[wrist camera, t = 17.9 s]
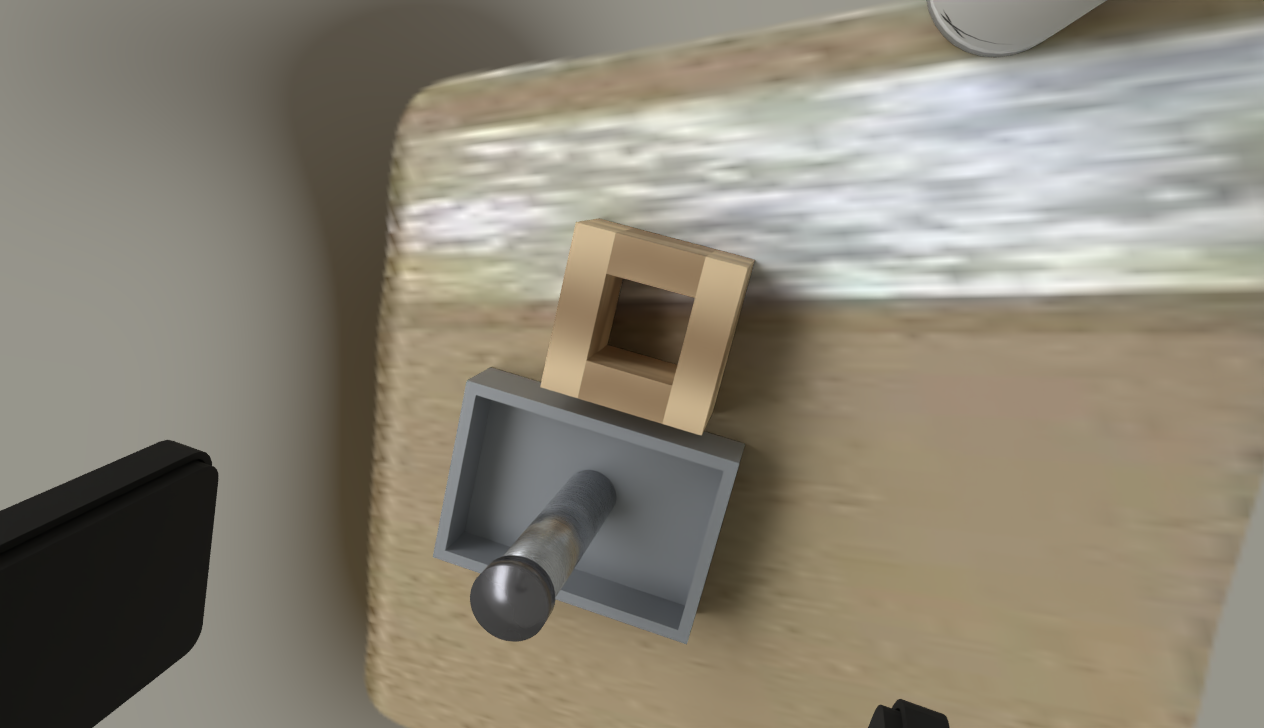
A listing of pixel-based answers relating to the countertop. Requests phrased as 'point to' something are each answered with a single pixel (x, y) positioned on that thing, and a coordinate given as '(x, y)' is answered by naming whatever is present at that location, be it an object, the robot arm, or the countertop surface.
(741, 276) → the block
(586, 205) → the countertop surface
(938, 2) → the travel mug
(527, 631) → the cylinder
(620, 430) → the tray
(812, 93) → the countertop surface
